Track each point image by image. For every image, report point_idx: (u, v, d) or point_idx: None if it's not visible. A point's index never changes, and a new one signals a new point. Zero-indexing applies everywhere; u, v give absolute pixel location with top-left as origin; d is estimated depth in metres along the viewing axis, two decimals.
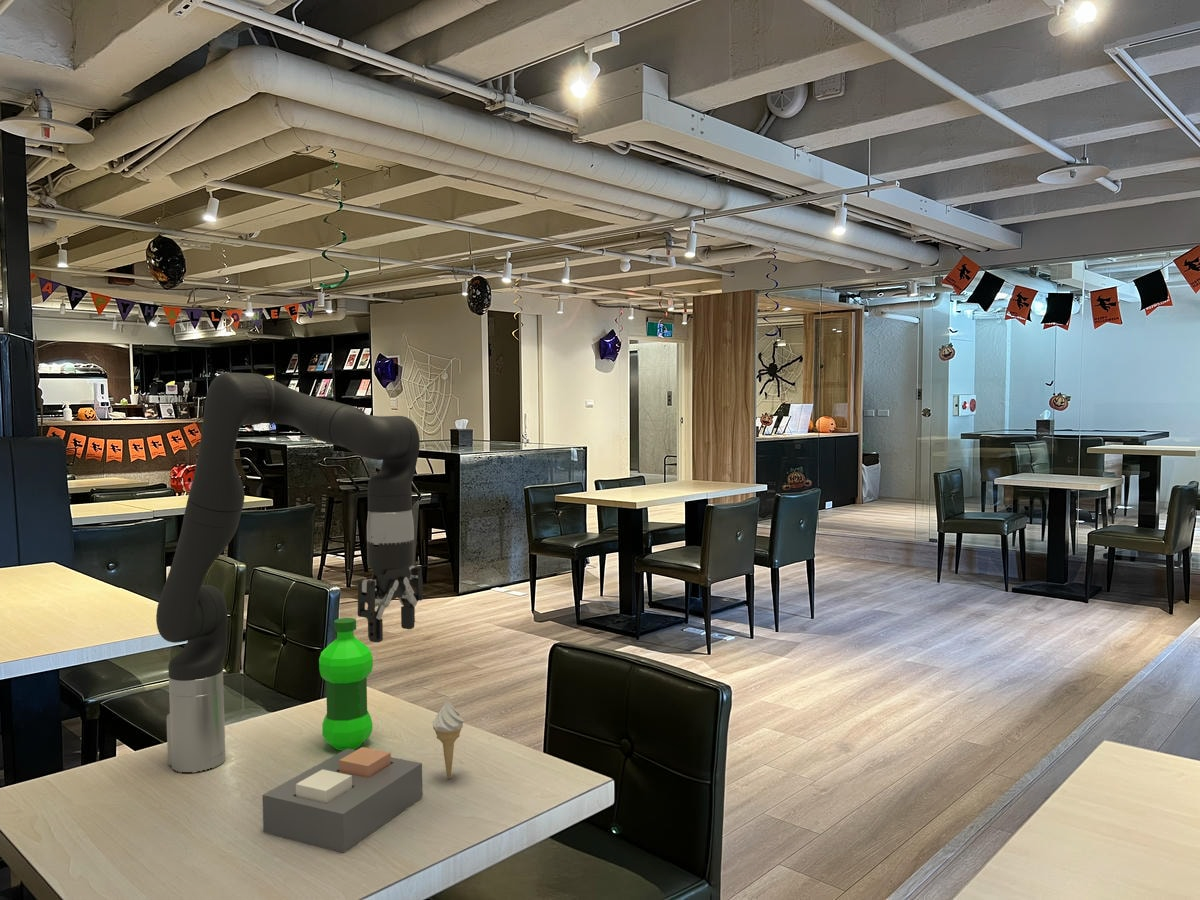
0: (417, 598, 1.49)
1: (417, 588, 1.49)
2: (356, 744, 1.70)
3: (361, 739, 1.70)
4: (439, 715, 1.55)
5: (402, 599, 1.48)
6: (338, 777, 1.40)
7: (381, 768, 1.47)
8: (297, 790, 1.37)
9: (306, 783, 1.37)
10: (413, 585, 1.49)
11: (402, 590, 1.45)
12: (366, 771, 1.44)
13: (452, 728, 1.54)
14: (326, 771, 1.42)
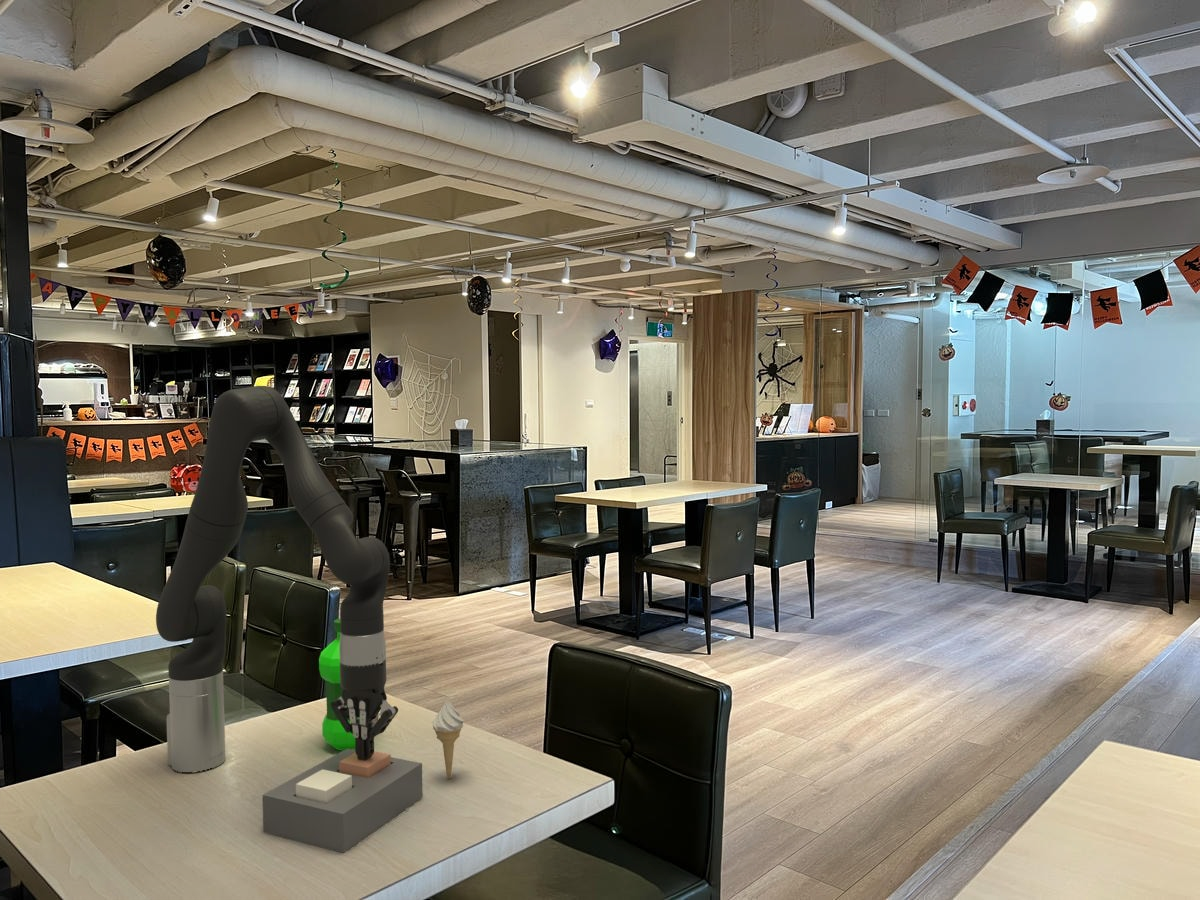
0: None
1: None
2: None
3: None
4: (439, 715, 1.55)
5: None
6: (338, 777, 1.40)
7: None
8: (297, 790, 1.37)
9: (306, 783, 1.37)
10: (348, 714, 1.49)
11: None
12: (366, 773, 1.44)
13: (452, 728, 1.54)
14: (326, 771, 1.42)
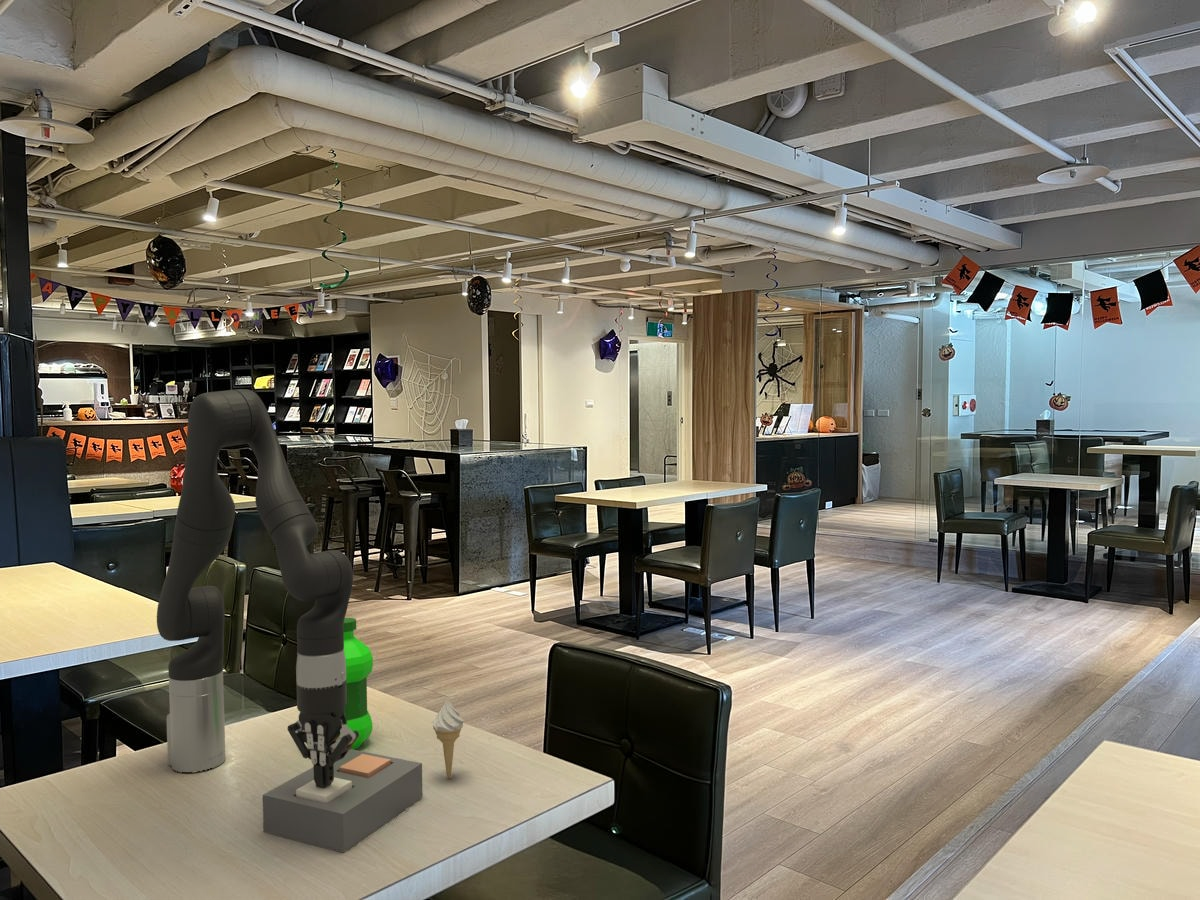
0: None
1: None
2: (356, 744, 1.70)
3: (361, 739, 1.70)
4: (439, 715, 1.55)
5: None
6: (338, 783, 1.40)
7: None
8: (297, 795, 1.37)
9: (306, 789, 1.37)
10: (307, 738, 1.40)
11: None
12: None
13: (452, 728, 1.54)
14: None
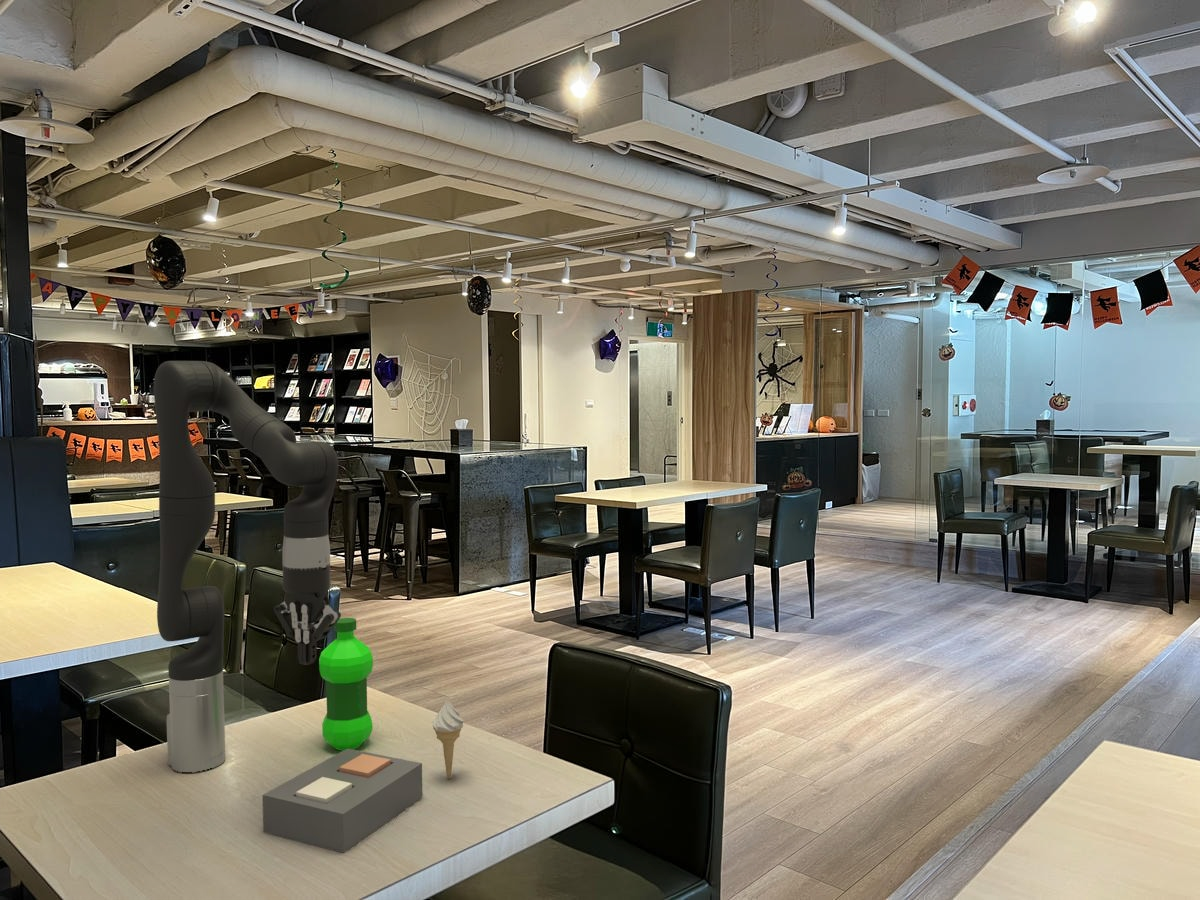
0: None
1: None
2: (356, 744, 1.70)
3: (361, 739, 1.70)
4: (439, 715, 1.55)
5: None
6: (338, 785, 1.40)
7: None
8: None
9: (306, 791, 1.37)
10: (292, 619, 1.48)
11: None
12: None
13: (452, 728, 1.54)
14: (326, 779, 1.42)
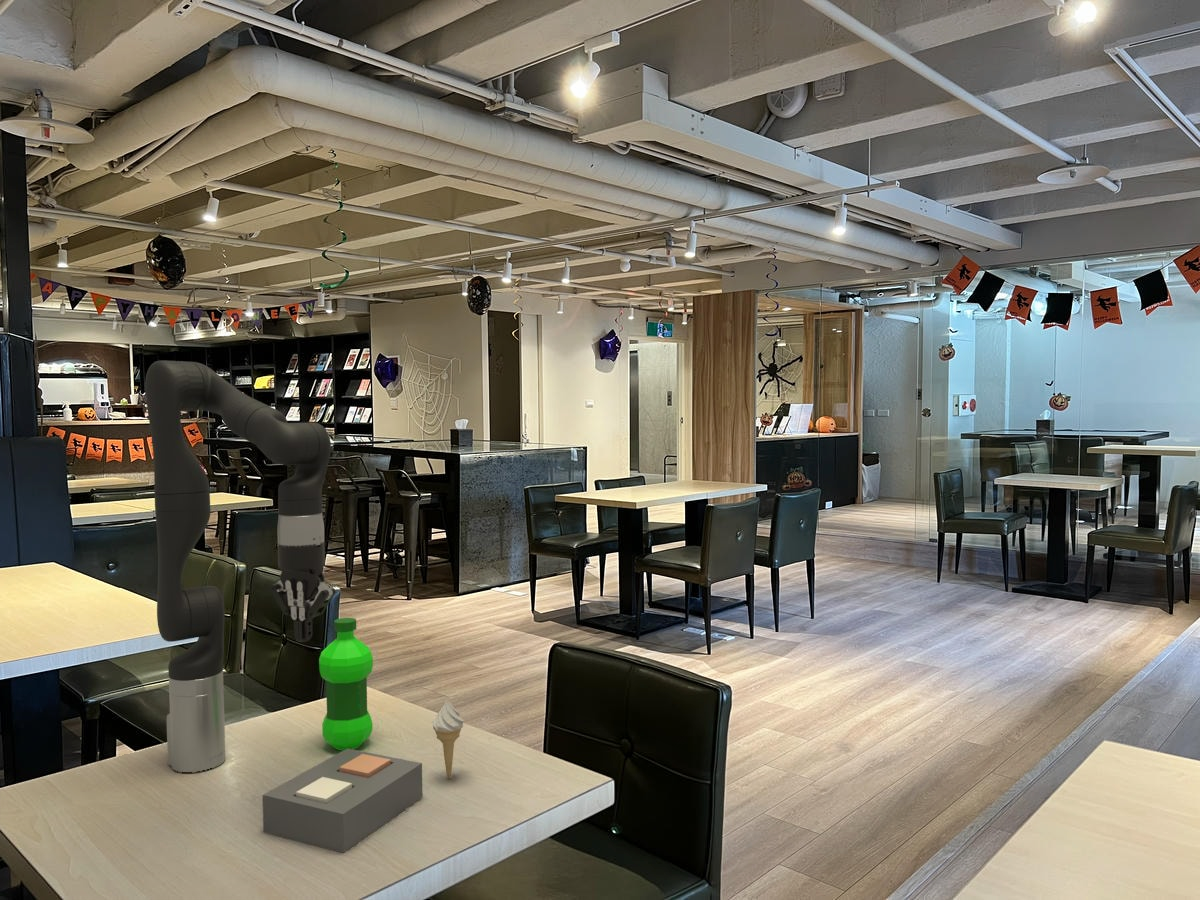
0: None
1: None
2: (356, 744, 1.70)
3: (361, 739, 1.70)
4: (439, 715, 1.55)
5: None
6: (338, 785, 1.40)
7: None
8: None
9: (306, 791, 1.37)
10: (287, 597, 1.51)
11: None
12: None
13: (452, 728, 1.54)
14: (326, 779, 1.42)
